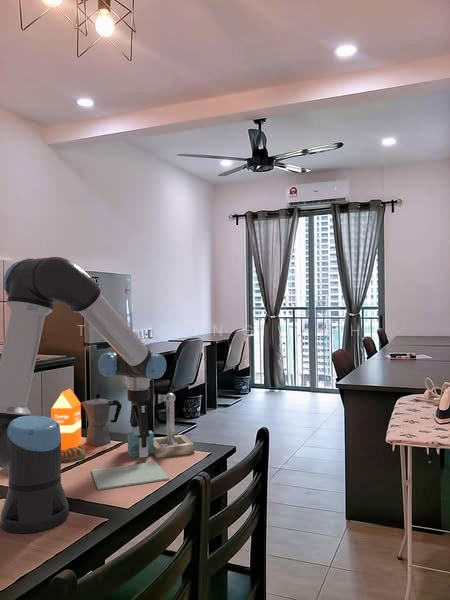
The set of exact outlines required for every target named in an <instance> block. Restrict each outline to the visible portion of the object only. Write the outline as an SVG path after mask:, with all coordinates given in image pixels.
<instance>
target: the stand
mask: <svg viewBox="0 0 450 600" xmlns="http://www.w3.org/2000/svg"><path fill="white" fill-rule="evenodd" d="M164 400H165V402H166V437H167V444H160V446H168V445H177V444H178V443H177V442H176V443H174V436H175V401H176V394H174V393H172V392H168V393H167V394H165V397H164Z"/></svg>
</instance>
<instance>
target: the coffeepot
mask: <svg viewBox="0 0 450 600" xmlns="http://www.w3.org/2000/svg"><path fill="white" fill-rule="evenodd" d="M100 397H101V393H96V394H95V398H94V399H90V400H84V401H81V402H80V403H81V407H83V409H84V410H85V412H86V415H87V422H88V425H87V426H88V427H87V431H86V438H85V444H86V446H91V447H100V446H106V445H108V444H110V443H111V437H110V431H109V430H110V429H109V424H108V419H109V414H110V409H111V406H116V408H115V413H114V417H113V419H110V422H111V424H112V423H115V424H116V423H117V422H118V419H119V415H120V413H121V410H122V406H123V405H122V403H121V401H119V400H117V399H106V398H100Z"/></svg>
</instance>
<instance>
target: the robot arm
mask: <svg viewBox="0 0 450 600" xmlns="http://www.w3.org/2000/svg"><path fill="white" fill-rule="evenodd" d="M2 282H3V283H2V285H3V290H4V291H5V294H6V295H7V299H6V300H7V301H6V305H7V306H8V307H9V309H10V315H9V321H8V324H7V328H6V334H5V337H4V342H3V346H2V350H1V351H2V352H1V355H0V469H3V470H7V471H8V472H7V473H8V474H7V475H8V480H7V481H8V491H7V494H6V497H5V499H4V502H3V506H2V509H1V512H0V527H1V529H2V530H4V531H5V532H7V533H8V532H9V533H14V534H31V533H32V534H33V533H37V532H42V531H45V530H49V529H52V528H54V527H57V526H58V525H60V524H62V523H64V522H65V521H66V520H67V519H68V518H69V515H70V506H69V502H68V501H69V500H68V498H67V496H66V493H65V490H64V487H63V484H62V462H61V452H62V450H61V439H62V438H61V432H60V425H59V423H58V422H57V421H56V420H54V419H52V418H51V417H48V416H45V415H40V416H37V415H32V413H31V410H29V408H28V407H27V406H28V405H27V404H28V400H29V396H30V391H31V386H32V382H33V376H34V371H35V366H36V361H37V358H38V351H39V348H40V342H41V338H42V333H43V328H44V323H45V319H46V317H47V316H48V315H49V314H51V313H52V312H53V310H54V304H55V302H58V303H62V304H64V305H66V306H67V307H68V308H69V309H70V310H71V311H72V312H73V313H79V314H80V315H81V316H82V317H83V318H84V319H85V320H86V322H88V323H89V324H90V325H91V327H92V328H93V329H94V330H95V331H96V332H97V333H98V334H99V335H100V337H102V338H103V339H104V341H106V342H107V343H108V345H109V346H110V347H112V349H113V350H114V351H109V352H105V353H102V354H101V355H100V356H99V358H98V360H97V367H98V371H99V373H100V374H101V375H102V376H103V377H107V378H108V377H114V376H122V377H126V386H127V387H126V388H127V401H128V402H131V403H130V405H131V406H130V407H131V408H130V415H129V416H130V417H129V424H130V427H131V428H130V433H132V432H139V433H140V435H138V438H139V456H138V458H141V459H142V458H148V457H149V455H148V436H149V435H150V434H149V431H150V430H149V429H150V428H149V418H148V407H147V405H145V402H146V401H149V400H150V399H151V390H150V381H152V379H155V380H156V379H160V378H161V377H163V375H164V374H165V372H166V371H167V361H166V358H165V356H164V355H162V354H160V353H159V354H158V353H156V352H154V353H153V352H152V351H151V350H150V345H149V343H147V342H143V341H142V340H141V338H140V337H139V336H138V335H137V334H136V333H135V332H134V330H132V328H131V327H130V326H129V325H128V324H127V322H126V321H125V320H124V319H123V318H122V316H121V315H120V314H119V313H118V312H117V311H116V309H115V308H114V307H113V306H112V305H111V304H110V303H109V302H108V300H107V299H106V298H105V297H104V295H102V287H101V286H100V285H99V284H98V282H96V280H94V278H92V276H90V274H89V273H87V271H85V270H84V269H83V268H82V267H80V266H79V265H77V264H76V263H75V262H73V261H71V260H69V259H67V258H64V257H59V256H49V257H41V258H26V259H25V258H24V259H21V260H19V261H16V262H14V263H13V264H11V265H10V266H9V267H8V268H7V270H6V271H5V274H4V277H3V280H2Z"/></svg>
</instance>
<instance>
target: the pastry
mask: <svg viewBox="0 0 450 600" xmlns="http://www.w3.org/2000/svg"><path fill="white" fill-rule="evenodd" d="M86 456H87V454H86V451H85V448H84V446H83V445H78V446H77V447H71V448H68V449H66V450H61V463H65V462H74V461H79V460H80V461H81V460H84V459H85V458H86Z"/></svg>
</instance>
